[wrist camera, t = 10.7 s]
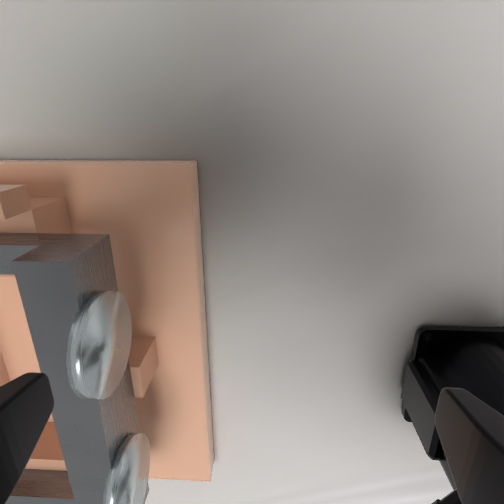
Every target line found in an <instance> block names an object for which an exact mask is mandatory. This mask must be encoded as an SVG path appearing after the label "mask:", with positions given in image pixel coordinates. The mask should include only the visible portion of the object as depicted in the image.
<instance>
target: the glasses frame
mask: <svg viewBox="0 0 504 504" xmlns="http://www.w3.org/2000/svg"><path fill="white" fill-rule="evenodd" d="M0 274H3V275H15V278H16V281H17V285H18V289H19V293H20V296H21V300H22V304H23V308H24V311H25V315H26V319H27V323H28V327H29V330H30V334H31V338H32V342H33V345H34V349H35V353H36V357H37V360H38V364H39V368H40V372H41V373H45V374H46V375H47V376H48V378H49V381H50V385H51V389H52V393H53V397H54V408H53V411H52V417H53V420H54V424H55V428H56V432H57V435H58V439H59V443H60V447H61V450H62V454H63V458H64V462H65V465H66V469H67V471H60V470H40V469H24V471H23V473H22V475H21V477H20V479H19V481H18V482H17V484H16V486H15V488H14V490H13V491H12V493H11V495H10V496H9V498H8V500H7V501H6V503H5V504H145V501H146V498H147V495H148V492H149V487H148V476H149V468H150V444H149V440H148V437H147V435H146V434H144V433H140V429H139V422H138V416H137V410H136V403H135V397H134V390H133V384H132V377H131V371H130V364H129V354H130V348H131V339H132V321H131V314H130V309H129V306H128V303H127V301H126V299H125V297H124V296H123V295H122V294H121V293H120V292H118V287H117V281H116V274H115V268H114V261H113V255H112V248H111V242H110V235H109V234H62V233H0Z"/></svg>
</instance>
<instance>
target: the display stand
mask: <svg viewBox="0 0 504 504" xmlns="http://www.w3.org/2000/svg"><path fill="white" fill-rule="evenodd" d="M0 233H62V234H109V235H110V242H111V248H112V255H113V261H114V268H115V274H116V281H117V287H118V292H120V293H121V294H122V295H123V296H124V297H125V299H126V301H127V303H128V306H129V309H130V314H131V321H132V339H131V348H130V354H129V364H130V371H131V377H132V384H133V390H134V397H135V403H136V410H137V416H138V422H139V429H140V433H144V434H146V435H147V437H148V440H149V444H150V468H149V476H148V478H153V479H172V480H191V481H211V476H212V470H213V464H214V450H213V432H212V415H211V397H210V379H209V362H208V344H207V327H206V309H205V291H204V274H203V256H202V239H201V221H200V204H199V186H198V168H197V161H167V160H0ZM29 372H35V373H41V372H40V368H39V364H38V360H37V357H36V353H35V349H34V345H33V342H32V338H31V334H30V330H29V327H28V323H27V319H26V315H25V311H24V308H23V304H22V300H21V296H20V293H19V289H18V285H17V281H16V278H15V275H3V274H0V386H2V385H4V384H6V383H8V382H10V381H12V380H14V379H16V378H17V377H19V376H21V375H23V374H25V373H29ZM25 469H40V470H60V471H67V469H66V465H65V462H64V458H63V454H62V450H61V447H60V443H59V439H58V435H57V432H56V428H55V424H54V420H53V417H52V413H51V415H50V418H49V420H48V422H47V424H46V426H45V428H44V430H43V432H42V434H41V436H40V438H39V440H38V443H37V445H36V447H35V449H34V451H33V453H32V455H31V457H30V459H29V461H28V463H27V465H26V467H25Z"/></svg>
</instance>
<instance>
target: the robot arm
mask: <svg viewBox="0 0 504 504" xmlns="http://www.w3.org/2000/svg"><path fill="white" fill-rule="evenodd" d="M426 334H430V335H429V336H428V337H424V336H425V335H426ZM401 399H402V401H403V405H402V414H403V417H404V419H405V420H406V421H408V422H412V423H413V425H414V427H415V429H416V432H417V434H418V436H419V438H420V440H421V443H422V445H423V447H424V449H425V451H426V454H427V455H428V456H429V457H430V458H431V459H432V460H439V461H440V463H441V465H442V467H443V469H444V471H445V473H446V475H447V477H448V479H449V482H450V484H451V486H452V488H453V490H454V491H452V492H451V493H450V494H448V495H447V496H446V497H444V498H443V499H442V500H439V499H437V500H436V501H435V502H433V503H432V504H504V328H495V327H459V326H423V327H420V328H419V329H418V330H417V332H416V337H415V342H414V347H413V353H412V358H411V360H410V361H409V362H408V363H407V366H406V371H405V377H404V382H403V387H402V393H401ZM53 408H54V397H53V393H52V389H51V385H50V381H49V378H48V376H47V375H46V374H45V373H35V372H29V373H25V374H23V375H21V376H19V377H17V378H16V379H14V380H12V381H10V382H8V383H6V384H4V385H2V386H0V504H5V503H6V501H7V500H8V498H9V496H10V495H11V493H12V491H13V490H14V488H15V486H16V484H17V482H18V481H19V479H20V477H21V475H22V473H23V471H24V469H25V467H26V465H27V463H28V461H29V459H30V457H31V455H32V453H33V451H34V449H35V447H36V445H37V443H38V440H39V438H40V436H41V434H42V432H43V430H44V428H45V426H46V424H47V422H48V420H49V418H50V415H51V413H52V411H53Z"/></svg>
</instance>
